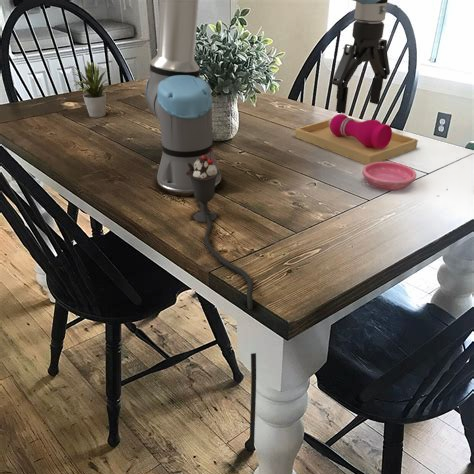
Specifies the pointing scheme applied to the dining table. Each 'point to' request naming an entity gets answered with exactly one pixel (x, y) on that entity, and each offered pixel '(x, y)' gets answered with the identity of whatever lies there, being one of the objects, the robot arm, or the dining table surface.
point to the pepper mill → (362, 131)
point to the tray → (354, 143)
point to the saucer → (389, 175)
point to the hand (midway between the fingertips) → (357, 107)
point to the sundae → (203, 184)
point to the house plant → (93, 91)
